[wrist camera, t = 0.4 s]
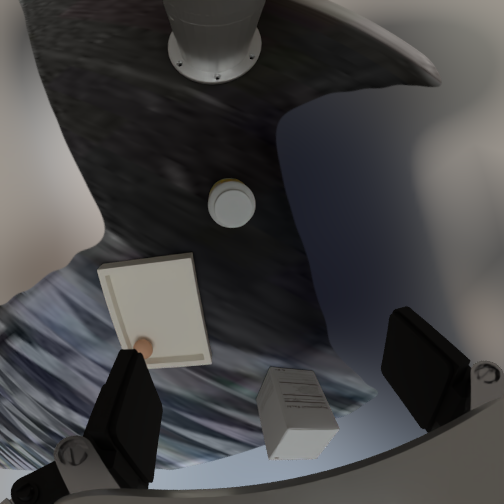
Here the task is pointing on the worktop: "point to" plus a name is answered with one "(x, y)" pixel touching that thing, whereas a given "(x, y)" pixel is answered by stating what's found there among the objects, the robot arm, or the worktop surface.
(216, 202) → the supplement bottle
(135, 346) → the ball
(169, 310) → the tray
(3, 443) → the worktop surface
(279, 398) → the supplement box
